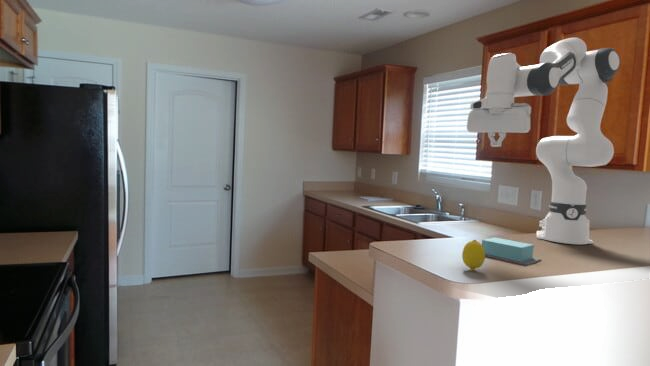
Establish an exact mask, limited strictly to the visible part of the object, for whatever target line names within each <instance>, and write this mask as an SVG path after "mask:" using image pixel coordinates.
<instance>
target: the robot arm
mask: <svg viewBox="0 0 650 366" xmlns="http://www.w3.org/2000/svg"><path fill="white" fill-rule="evenodd" d="M587 50H588V47H587V44H586V42H585V41H584V40H583V39H581V38H579V37H568V38H565V39H561V40H559V41H557V42H555V43H553V44H551V45H550V46H548V47H546V48H545V49H544V50H543V51H542V53H541V54H540V57H539V63H538V64H532V65H527V66H522V65H520V64H519V63H518V62H517V56H516V54H515V53H512V52H507V53H501V54H500V53H499V54H495V55H493V56H492V57H490V60H489V63H488V67H487V73H486V85H487V86H486V87H487V88H486V91H485V96H484V97H483V98H481V99H479V100H477V101H474V102H471V103H470V107H469V108H470V109H471V110H470V112H469V113H468V117H467V122H466V129H467V131H468V132H469V133H479V134H480V133H487V136H488V139H489V141H490V147H495V148H496V147H498V148H499V147H502V146H503V145H502V144H503V143H502V142H503V141H504V140H505V138H506V136H507V134H508V133H515V134H517V133H518V134H519V133H520V134H521V133H522V134H525V133H529V132H530V130H531V114H532V106H531V105H530V104H528V103H527V102H522V103H519V102H515V98H518V97H531V96H549V95H551V94H553V93H554V92H555V90H556V89H557V88H558V86H559V84H560V85H561V86H573V85H578V90H577V92H576V93H575V95H574V98H573V100H572V103H571V105H570V108H569V111H568V113H567V116H566V124H567V126H568V128H569V129H570V130H571V131H573V132H575V133H577V134H575V135H552V136H547V137H543V138H541V139H540V140H539V141H538V143H537V144H536V145H537V146H535V147H536V148H535V155H536V157H537V159H538V161H540V162H541V164H543V165H544V166H545V167H546V169H547V170H548V172H549V174H550V177H551V186H552V187H551V200H550V202H549V205H548V213H547V214H546V216H545V218H543V219H542V220H539V223H538V224H539V225H538V226H539V227H540V228H541V230H536V232H535V233H536V239H540V240H545V241H549V242H555V243H561V244H569V245H587V244H588V245H589V244H590V245H592V244H594V241H593V240H592V239H590V220H589V219H588V218H587V217H586V214H587V210H588V209H587V204H586V201H587V193H588V192H587V190H588V185H587V183H586V181H585V180H584V179H583V178H582V177H580V176H578V175H576V174H575V172H574V171H573V167H588V168H591V167H601V166H606V165H608V164H609V163H610V162H611V160H612V159H613V158H614V154H615V150H614V145H613V143H612V141H611V140H610V139H609V138H607V137H606V136H605V135H604V133H603V132H602V131H601V124H602V123H601V122H602V120H603V119H602V118H603V116H604V112H605V109H606V105H607V103H608V102H607V101H608V95H609V94H608V93H609V92H608V90H609V88H608V86H607V84H609V83H610V82H611V81H612V80H613V78H614V76H615V75H616V74H617V73H618V70H619V68H620V65H621V58H620V55H619V53H618V52H617V50H615V49H614V47H613V48H612V47H601V48H599V49H594V50H589V51H587ZM496 133H498V136H499V138H498V139H497V140H496V139H495V136H496Z"/></svg>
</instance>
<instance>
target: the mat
mask: <svg viewBox="0 0 650 366" xmlns="http://www.w3.org/2000/svg"><path fill="white" fill-rule="evenodd" d="M485 257H489V258H492V259H498V260H500V261H501V260H503V261H505V262H510V263H515V264H520V265H525V266H529V265H532V264H534V263H537V262H541V261H542V258H537V257H533V258H531V259H528V260H524V261H521V262H520V261H516V260H511V259H507V258H502V257H497V256H493V255H488V254H485Z"/></svg>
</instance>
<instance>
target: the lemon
mask: <svg viewBox="0 0 650 366" xmlns="http://www.w3.org/2000/svg"><path fill="white" fill-rule="evenodd" d="M461 256H462V261H463V263H464V265H465V266H466V267H468V268H469V269H470V271H476V269H479V268H480V267H482V265H483V264H484V262H485V261H486V260H485V259H486V256H485V251H484V247H483V246H482V243H481V242H479V241H478V240H477V239H473V240H472V241H469V242H467V243H466V244H465V245H464V247H463V249H462V255H461Z"/></svg>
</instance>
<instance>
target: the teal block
mask: <svg viewBox="0 0 650 366" xmlns="http://www.w3.org/2000/svg"><path fill="white" fill-rule="evenodd" d="M481 245H482V246H483V247H484V251H485V254H488V255H493V256H497V257H502V258H507V259H511V260H516V261H520V262H521V261H524V260H528V259H531V258H534V247H535V246H534V244H532V243H526V242H521V241H515V240H510V239H505V238H500V237H491V238H490V237H489V238H485V239H481Z"/></svg>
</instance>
